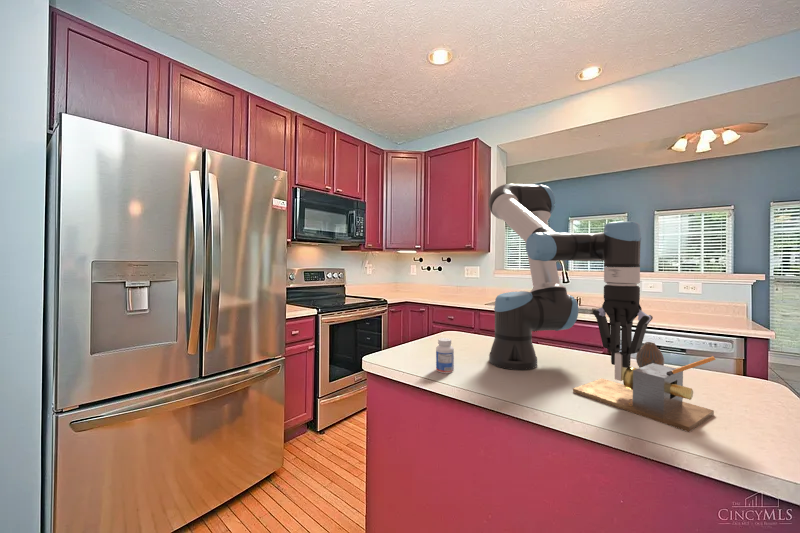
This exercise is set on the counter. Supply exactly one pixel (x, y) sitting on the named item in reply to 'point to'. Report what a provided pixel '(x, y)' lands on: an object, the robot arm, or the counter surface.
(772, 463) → the counter surface
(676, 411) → the hitch block
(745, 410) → the counter surface
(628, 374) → the lynch pin
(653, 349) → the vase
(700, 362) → the orange rod
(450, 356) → the pill bottle
